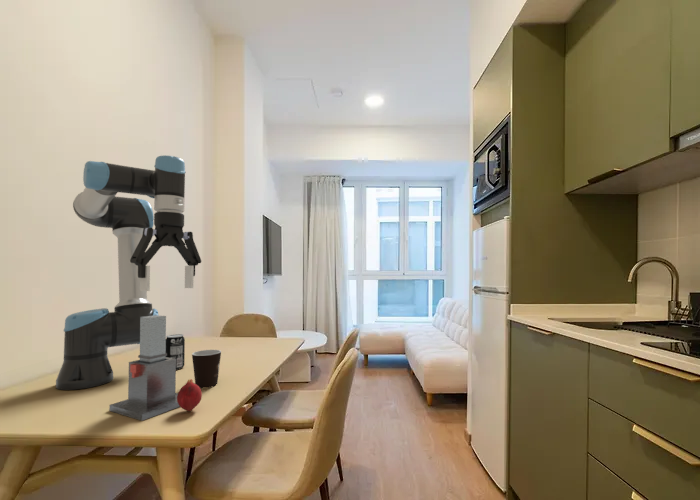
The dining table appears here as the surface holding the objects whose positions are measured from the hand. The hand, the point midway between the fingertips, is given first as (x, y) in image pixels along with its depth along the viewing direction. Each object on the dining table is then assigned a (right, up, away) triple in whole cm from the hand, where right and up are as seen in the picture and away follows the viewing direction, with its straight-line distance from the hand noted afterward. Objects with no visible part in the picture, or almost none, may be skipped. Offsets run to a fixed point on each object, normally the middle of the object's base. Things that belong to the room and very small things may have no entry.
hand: (168, 289), depth 102 cm
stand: (-2, -31, -4) cm, 31 cm away
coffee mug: (+5, -32, +16) cm, 36 cm away
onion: (+9, -30, -8) cm, 33 cm away
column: (-2, -29, -4) cm, 29 cm away
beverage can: (-15, -33, +35) cm, 50 cm away
